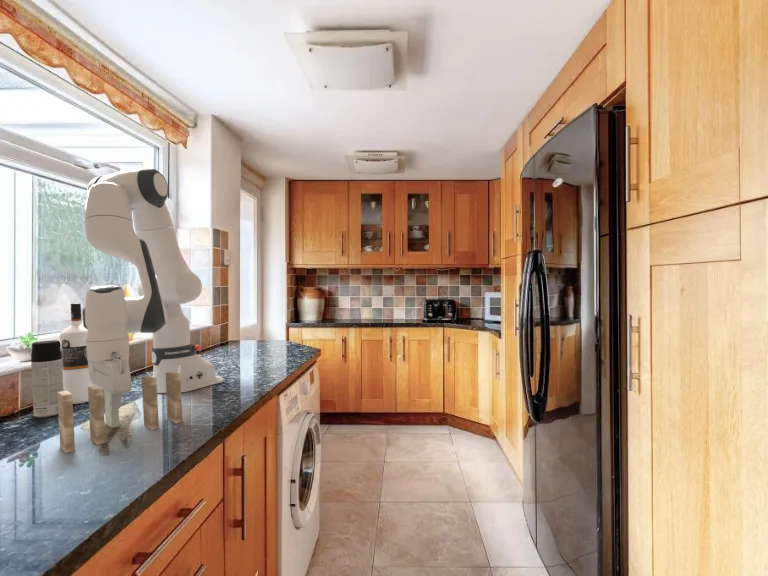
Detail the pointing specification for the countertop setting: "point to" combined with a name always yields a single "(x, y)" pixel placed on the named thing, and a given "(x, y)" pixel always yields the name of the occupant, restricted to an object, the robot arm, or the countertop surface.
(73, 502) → the countertop surface
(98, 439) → the brown wooden flat block
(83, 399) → the vodka
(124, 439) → the countertop surface
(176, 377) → the domino
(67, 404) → the domino
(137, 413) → the countertop surface
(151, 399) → the domino
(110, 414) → the domino
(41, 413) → the spray can
